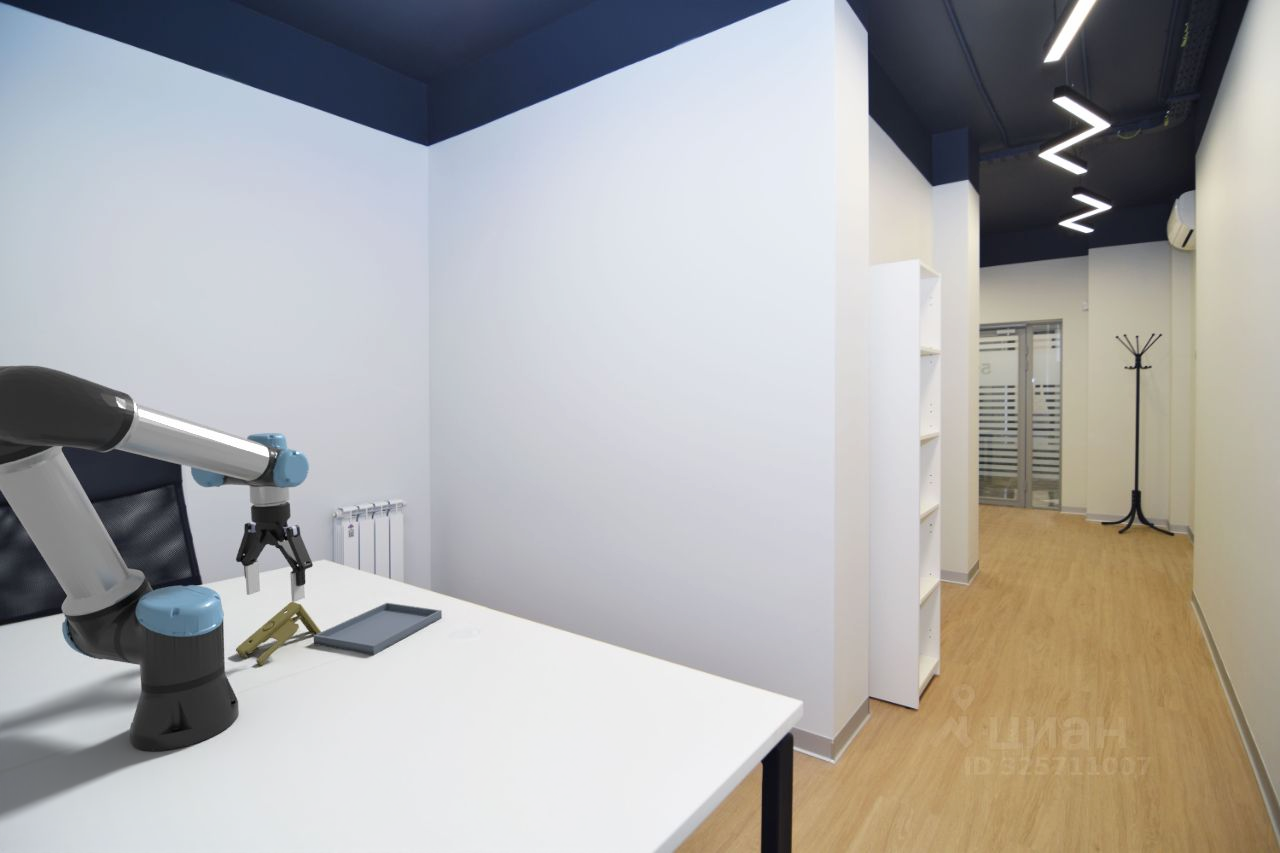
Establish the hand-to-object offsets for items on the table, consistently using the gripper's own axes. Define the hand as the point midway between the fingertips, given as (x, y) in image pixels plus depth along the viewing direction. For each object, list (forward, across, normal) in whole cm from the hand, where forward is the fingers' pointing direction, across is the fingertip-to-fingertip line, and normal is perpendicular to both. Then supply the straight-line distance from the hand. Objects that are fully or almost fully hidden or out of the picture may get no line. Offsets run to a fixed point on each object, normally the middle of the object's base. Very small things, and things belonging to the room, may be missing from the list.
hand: (275, 596), depth 141 cm
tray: (+12, -16, -15) cm, 24 cm away
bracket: (+12, -3, 0) cm, 12 cm away
